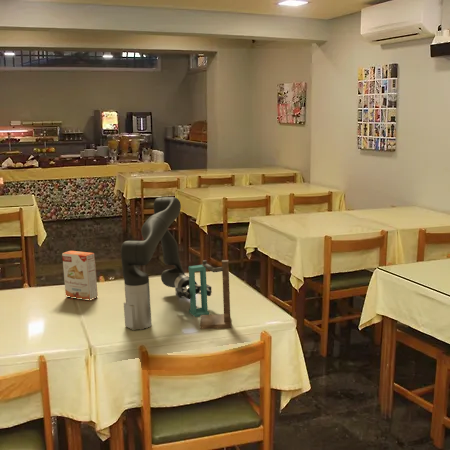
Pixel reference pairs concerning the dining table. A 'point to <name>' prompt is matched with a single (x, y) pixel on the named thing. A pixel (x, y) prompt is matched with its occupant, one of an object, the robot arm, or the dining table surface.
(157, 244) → the robot arm
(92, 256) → the cracker box
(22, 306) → the dining table surface
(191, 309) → the teal loop
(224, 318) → the hook stand
